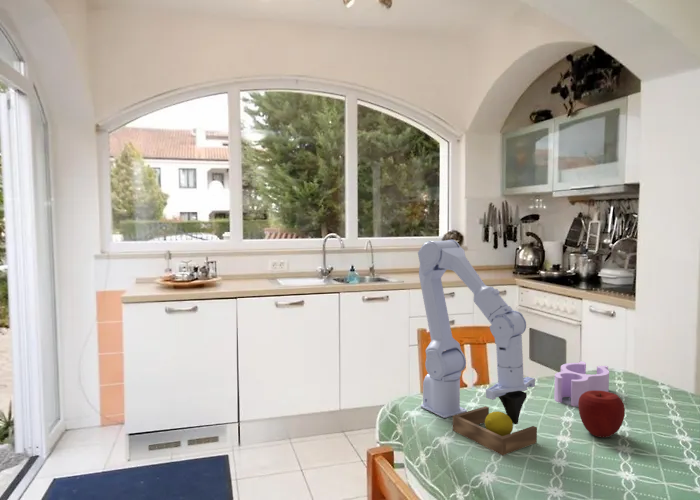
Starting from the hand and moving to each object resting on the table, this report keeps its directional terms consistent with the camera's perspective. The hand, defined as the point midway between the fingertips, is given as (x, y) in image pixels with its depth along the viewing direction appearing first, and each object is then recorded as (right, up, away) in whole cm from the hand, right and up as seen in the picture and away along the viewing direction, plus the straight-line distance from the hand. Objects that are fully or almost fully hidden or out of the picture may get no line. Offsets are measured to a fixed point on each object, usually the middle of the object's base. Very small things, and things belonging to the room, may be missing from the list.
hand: (512, 423), depth 118 cm
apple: (+20, -3, 0) cm, 20 cm away
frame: (-4, -3, -1) cm, 5 cm away
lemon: (-1, -1, +1) cm, 1 cm away
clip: (+27, -1, +25) cm, 37 cm away
